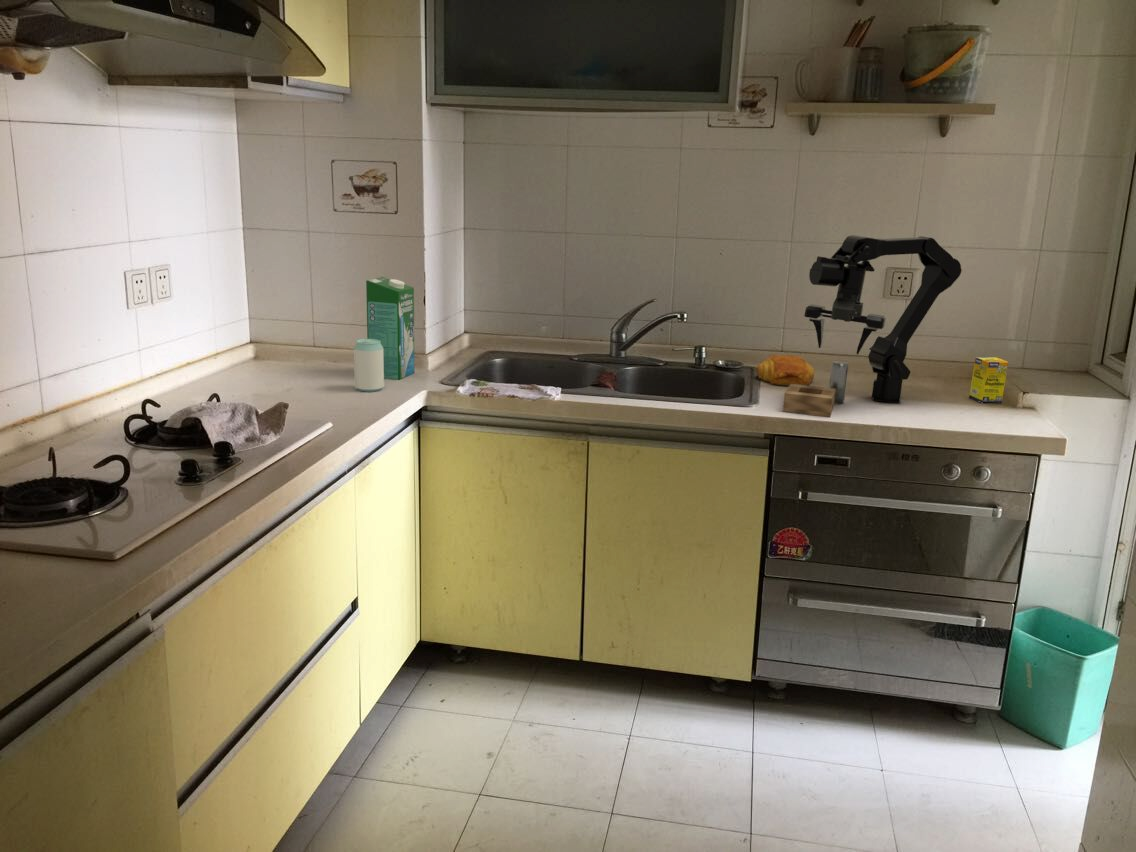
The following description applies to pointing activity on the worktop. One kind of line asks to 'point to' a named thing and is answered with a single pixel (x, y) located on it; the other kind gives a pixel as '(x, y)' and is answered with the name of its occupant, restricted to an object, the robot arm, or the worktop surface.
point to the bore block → (809, 400)
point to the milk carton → (392, 324)
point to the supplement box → (988, 379)
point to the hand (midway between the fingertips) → (838, 351)
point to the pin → (838, 380)
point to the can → (368, 365)
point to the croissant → (785, 370)
